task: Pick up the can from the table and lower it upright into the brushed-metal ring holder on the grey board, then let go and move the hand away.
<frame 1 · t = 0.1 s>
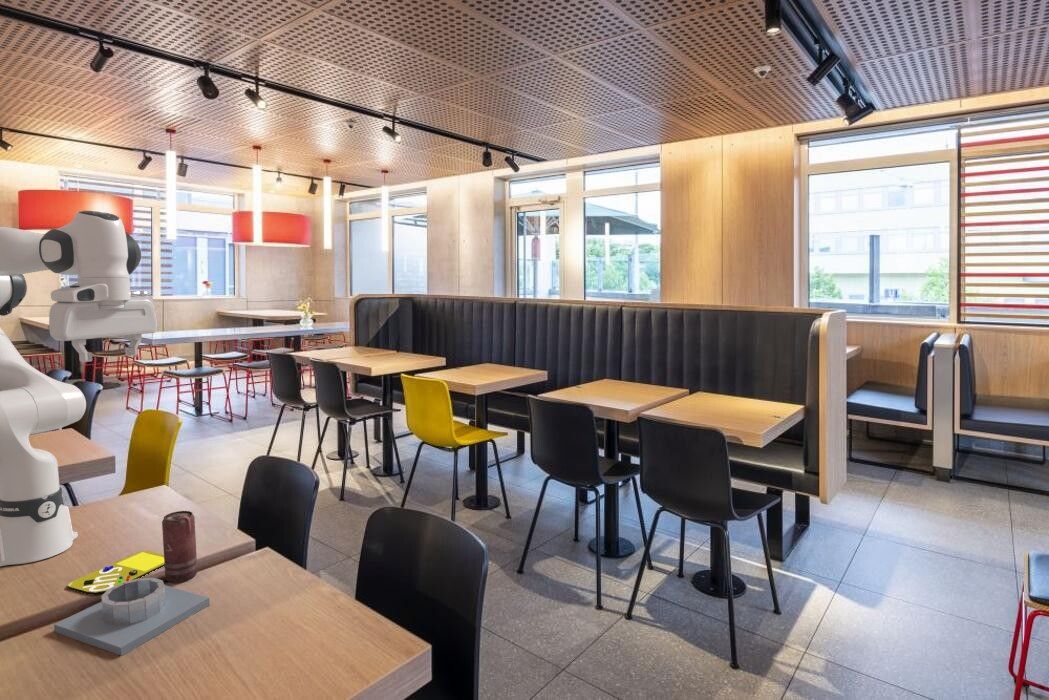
hand: (109, 358, 128), 48 cm above the table, tool pointing down, fingers open, 8 cm apart
base board: (135, 617, 118), on the table
ring holder: (134, 600, 118), on the base board, point 4 cm above the table
game console: (123, 576, 135), on the table
can: (182, 577, 134), on the table
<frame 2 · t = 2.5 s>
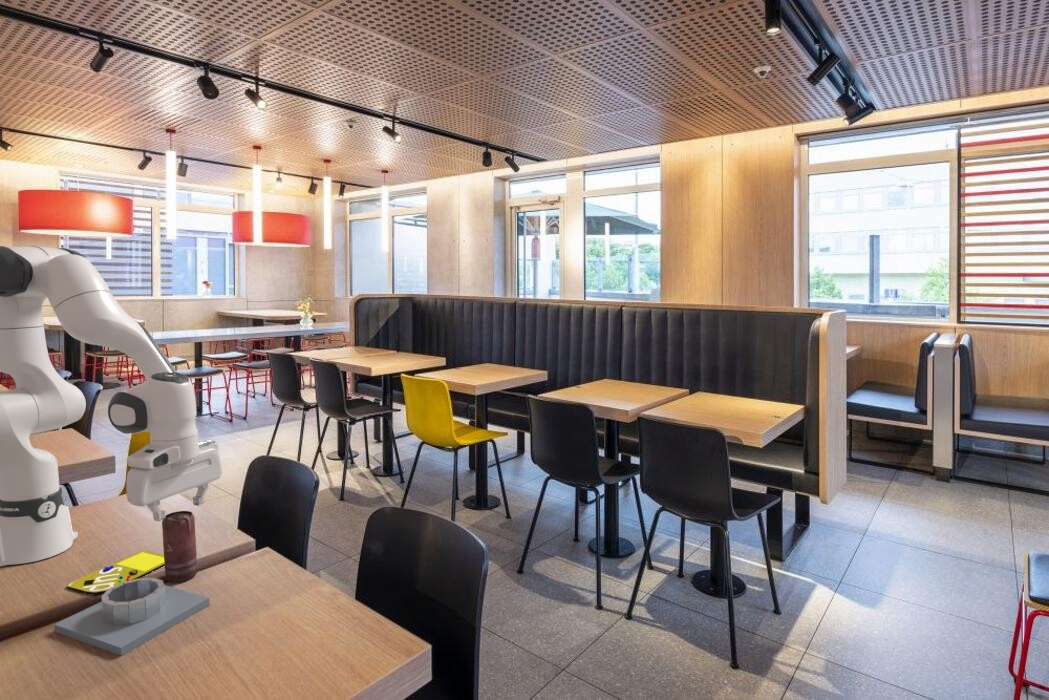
hand: (179, 511, 132), 15 cm above the table, tool pointing down, fingers open, 8 cm apart
nothing on the table moved.
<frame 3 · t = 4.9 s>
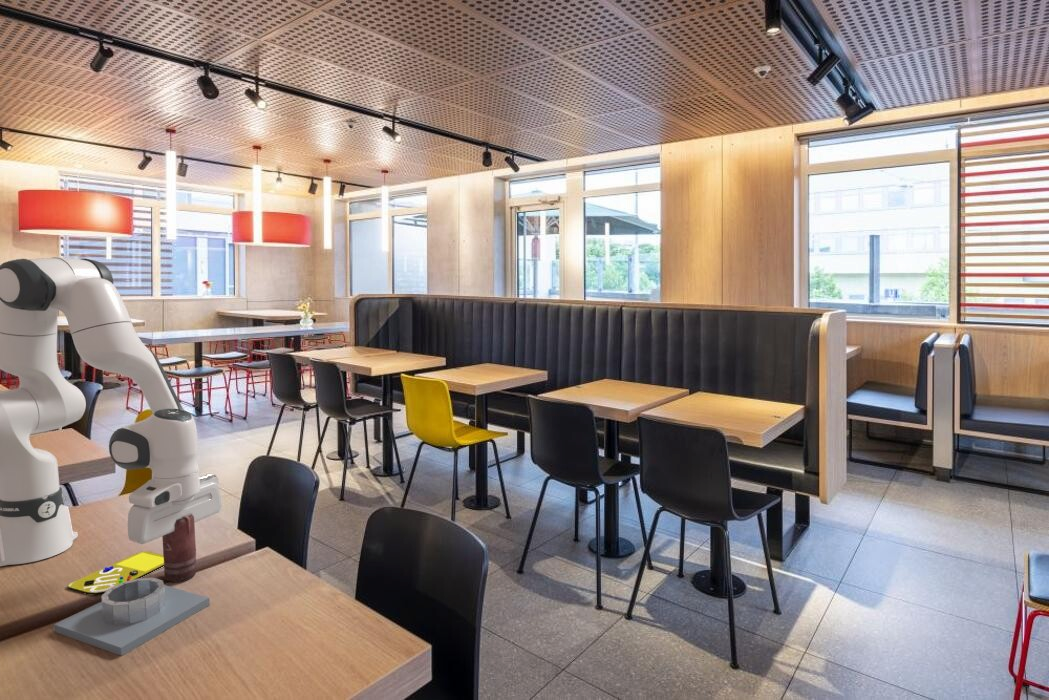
hand: (179, 546, 133), 7 cm above the table, tool pointing down, fingers closed, pressing on can
can: (181, 576, 134), on the table, touching gripper
everything else where it was.
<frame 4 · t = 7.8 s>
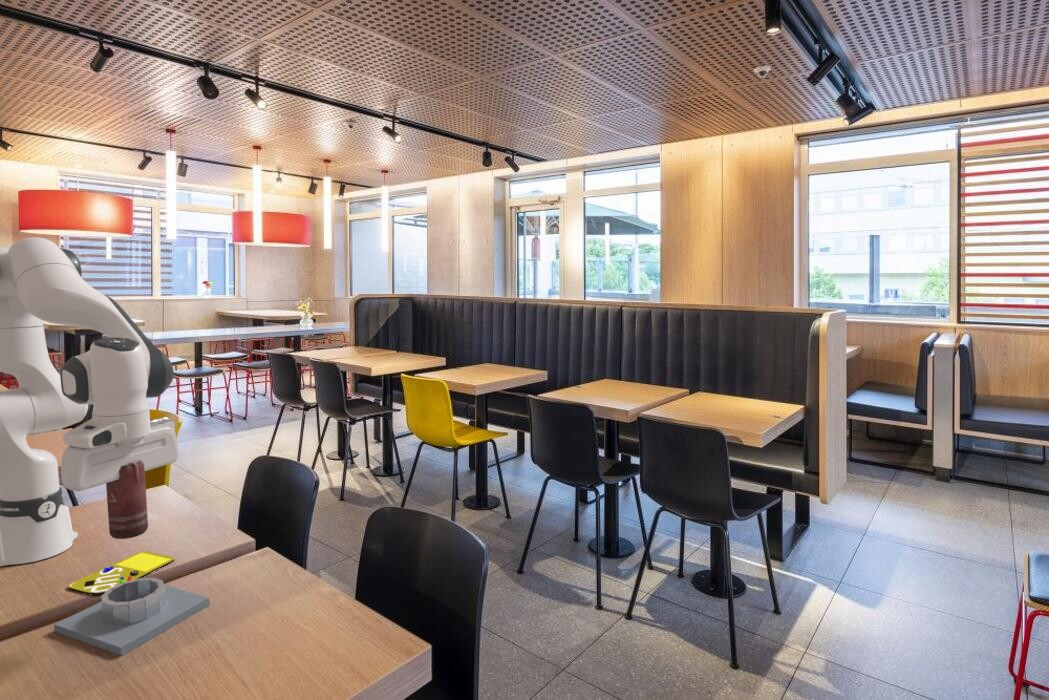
hand: (127, 498, 115), 24 cm above the table, tool pointing down, fingers closed on can
can: (130, 533, 116), point 17 cm above the table, touching gripper
everything else where it was.
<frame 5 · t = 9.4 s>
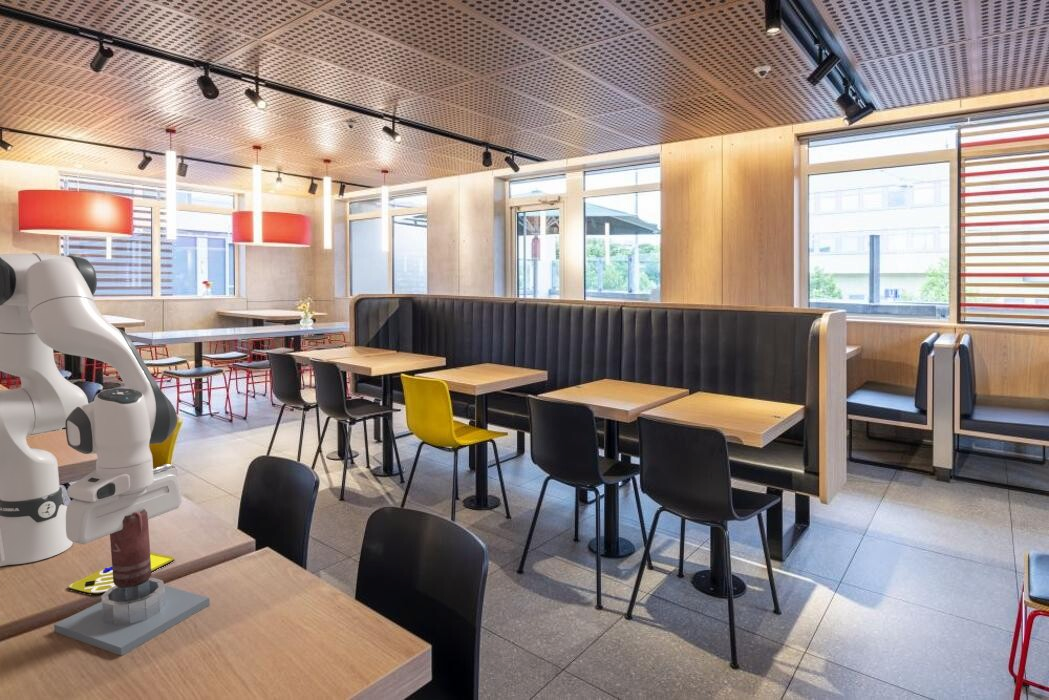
hand: (130, 547, 116), 14 cm above the table, tool pointing down, fingers closed on can
can: (133, 581, 117), point 7 cm above the table, touching gripper
everything else where it was.
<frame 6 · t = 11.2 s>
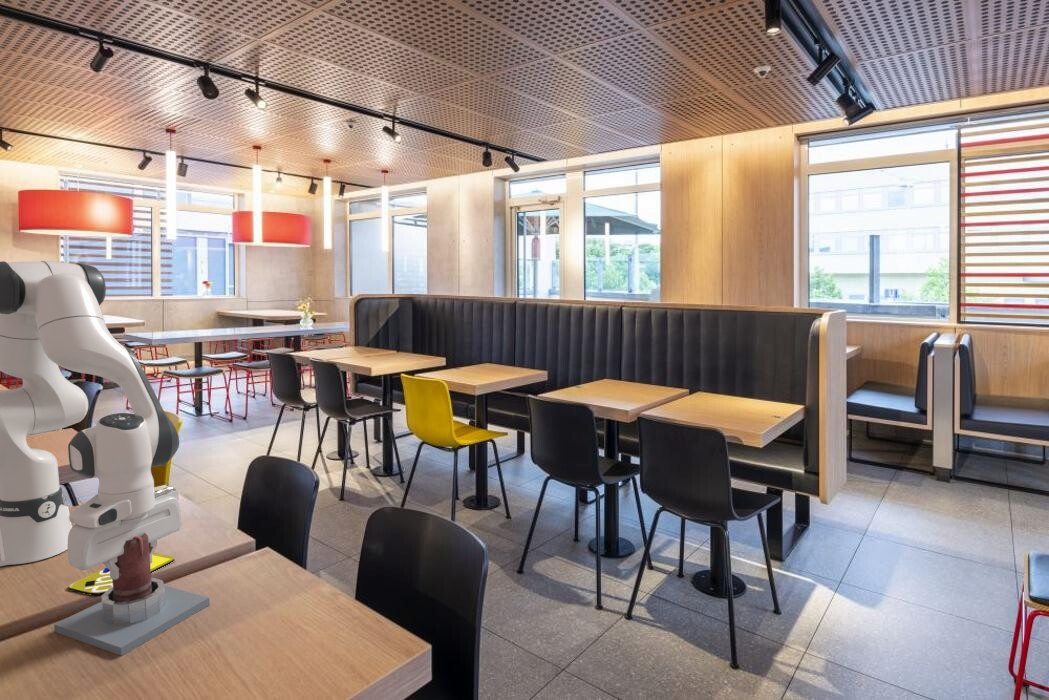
hand: (131, 570, 117), 9 cm above the table, tool pointing down, fingers closed on can, 4 cm apart
can: (134, 605, 118), point 3 cm above the table, touching gripper
everything else where it was.
when the fingers open (9 cm above the table, at t = 11.3 s): can drops 1 cm, resting on base board.
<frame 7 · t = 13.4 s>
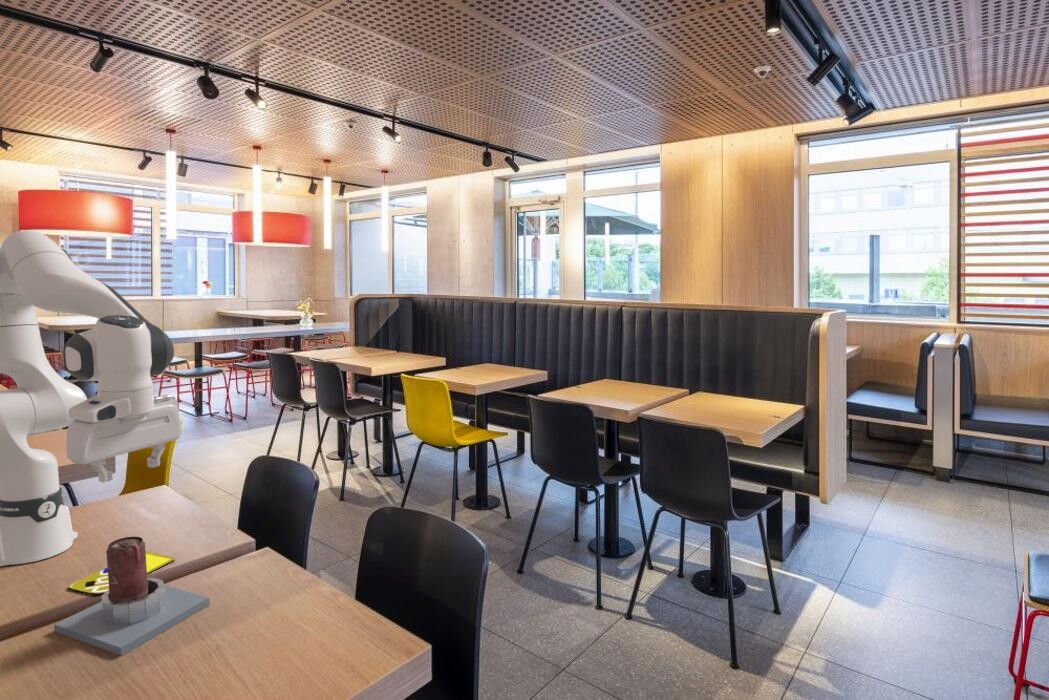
hand: (130, 473, 118), 28 cm above the table, tool pointing down, fingers open, 8 cm apart
can: (131, 613, 117), point 1 cm above the table, touching base board
everything else where it was.
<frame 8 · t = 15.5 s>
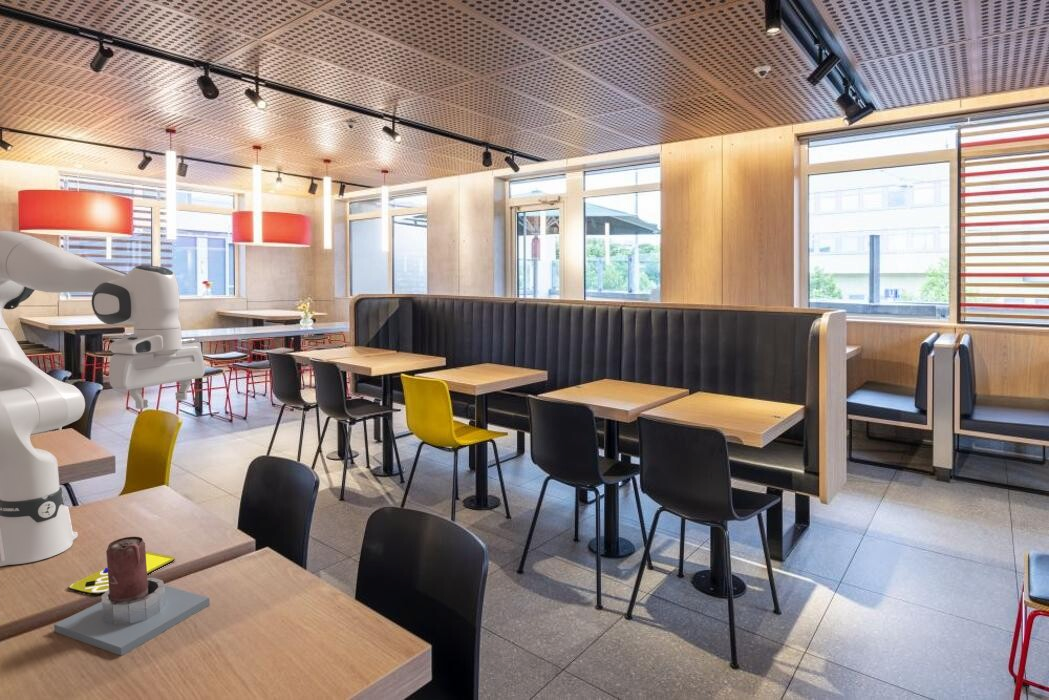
hand: (162, 404, 135), 37 cm above the table, tool pointing down, fingers open, 8 cm apart
nothing on the table moved.
at the end: can 0.7 cm off-centre on the ring holder, point 1.3 cm above the ring holder's base; can tilted 0°; the gripper is holding nothing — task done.
